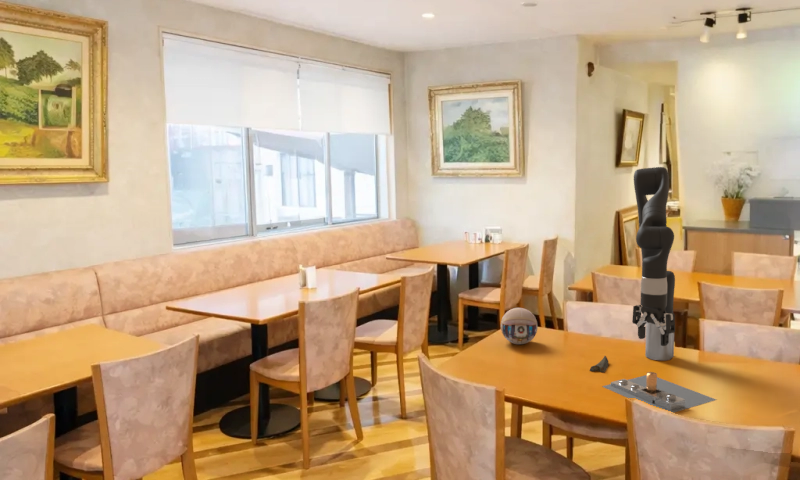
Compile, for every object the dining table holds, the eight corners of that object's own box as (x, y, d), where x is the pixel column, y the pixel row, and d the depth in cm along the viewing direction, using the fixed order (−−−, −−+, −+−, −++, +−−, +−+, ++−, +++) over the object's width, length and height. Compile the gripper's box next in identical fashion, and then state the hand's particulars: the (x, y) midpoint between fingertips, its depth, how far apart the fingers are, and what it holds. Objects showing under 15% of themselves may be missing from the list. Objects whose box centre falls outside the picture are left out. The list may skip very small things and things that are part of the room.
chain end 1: (624, 382, 207) (624, 377, 207) (666, 399, 192) (666, 394, 191) (610, 385, 204) (610, 380, 204) (652, 403, 189) (652, 397, 189)
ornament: (493, 344, 254) (492, 308, 252) (515, 336, 264) (515, 302, 262) (523, 351, 243) (523, 314, 241) (544, 343, 253) (544, 307, 251)
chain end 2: (649, 392, 197) (650, 382, 197) (684, 407, 185) (685, 396, 185) (636, 396, 195) (636, 386, 194) (670, 411, 183) (671, 400, 182)
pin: (650, 395, 195) (651, 371, 194) (658, 398, 192) (659, 374, 191) (643, 397, 194) (644, 373, 193) (651, 400, 191) (652, 375, 190)
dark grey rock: (602, 375, 216) (602, 365, 215) (589, 372, 219) (588, 363, 218) (616, 365, 225) (616, 356, 225) (603, 363, 229) (603, 354, 228)
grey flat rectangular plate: (649, 375, 213) (649, 374, 213) (716, 400, 190) (716, 399, 190) (601, 387, 204) (601, 386, 204) (666, 415, 181) (666, 414, 181)
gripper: (682, 293, 184) (680, 345, 186) (644, 285, 196) (643, 334, 199) (664, 297, 180) (663, 350, 183) (627, 288, 193) (626, 338, 195)
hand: (652, 341), depth 191 cm, fingers open, 8 cm apart
